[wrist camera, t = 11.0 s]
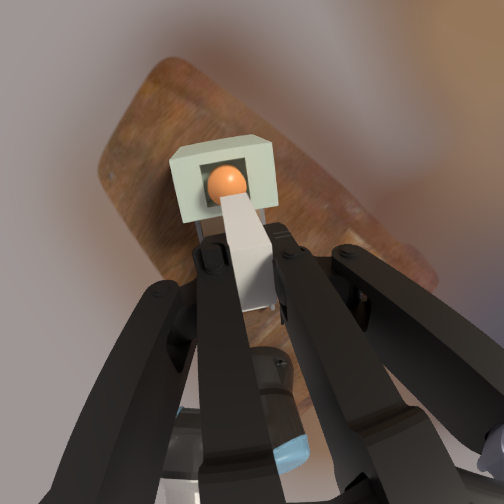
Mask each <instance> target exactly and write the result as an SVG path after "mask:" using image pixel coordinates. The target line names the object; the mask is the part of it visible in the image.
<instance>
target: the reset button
mask: <svg viewBox="0 0 504 504" xmlns="http://www.w3.org/2000/svg"><path fill="white" fill-rule="evenodd" d="M246 188H247V186H246V181H245V179H244V177H243V175H242V174H241V172H240V171H239V170H238V169H237V168H236V167H235V166H233V165H230V164H222V165H219V166H217V167H215V168H214V169H213V170H212V171H211V172H210V174H209V176H208V193H209V196H210V198H211V199H212V200H213V201H214V202H215V203H216V204H218V205H221V201H220V197H224V196H230V195H235V194H241V193H246Z"/></svg>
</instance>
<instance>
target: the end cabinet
mask: <svg viewBox="0 0 504 504" xmlns="http://www.w3.org/2000/svg"><path fill="white" fill-rule="evenodd" d="M169 163H170V168H171V172H172V177H173V181H174V186H175V190H176V195H177V199H178V204H179V208H180V212H181V216H182V220H183V223H187V222H192V221H197V220H202V219H207V218H212V217H217V216H223V213H222V207H221V205H218V204H216V203H215V202H214V201H213V200H212V199H211V198H210V196H209V193H208V176H209V174H210V172H211V171H212V170H213V169H214V168H215V167H217V166H219V165H222V164H230V165H233V166H235V167H236V168H237V169H238V170H239V171H240V172H241V174H242V175H243V177H244V179H245V181H246V186H247V188H246V193H247V195H248V197H249V199H250V201H251V203H252V205H253V207H254V209H255V210H256V209H261V208H267V207H273V206H279V205H278V195H277V185H276V176H275V167H274V158H273V149H272V142H270V141H267V140H265V139H262V138H260V137H257V136H255V135H252V134H251V135H244V136H237V137H231V138H225V139H219V140H213V141H208V142H202V143H197V144H192V145H187V146H183V147H180V148H179V149H178V151H177V152H176V153H175V154H174V155H173V156H172V158H171V159H170V160H169Z"/></svg>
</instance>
